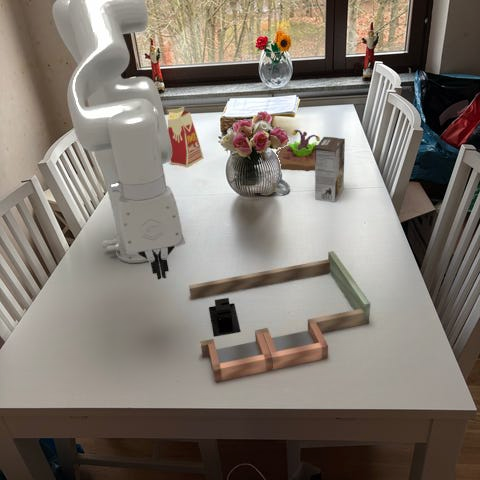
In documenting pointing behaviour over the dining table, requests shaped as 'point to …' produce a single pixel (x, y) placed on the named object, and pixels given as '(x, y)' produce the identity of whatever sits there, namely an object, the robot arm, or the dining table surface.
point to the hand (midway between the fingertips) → (161, 274)
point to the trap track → (288, 346)
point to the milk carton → (183, 138)
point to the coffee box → (329, 168)
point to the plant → (298, 154)
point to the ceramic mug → (274, 188)
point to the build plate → (224, 318)
